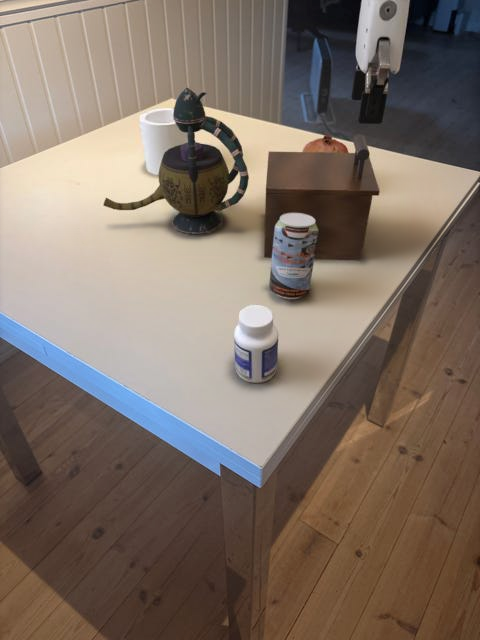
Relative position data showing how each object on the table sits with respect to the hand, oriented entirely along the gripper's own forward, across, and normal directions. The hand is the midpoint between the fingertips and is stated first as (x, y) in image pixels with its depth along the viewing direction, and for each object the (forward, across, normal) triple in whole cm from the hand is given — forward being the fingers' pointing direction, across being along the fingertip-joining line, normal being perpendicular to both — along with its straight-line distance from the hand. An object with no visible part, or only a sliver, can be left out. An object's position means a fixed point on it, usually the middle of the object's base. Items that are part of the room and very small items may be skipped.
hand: (365, 110), depth 71 cm
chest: (+21, 0, +6) cm, 22 cm away
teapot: (+22, +3, +30) cm, 37 cm away
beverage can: (+21, -16, +10) cm, 28 cm away
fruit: (+22, +20, +3) cm, 29 cm away
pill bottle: (+21, -32, +14) cm, 41 cm away
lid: (+10, 0, +6) cm, 11 cm away
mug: (+22, +29, +36) cm, 51 cm away
